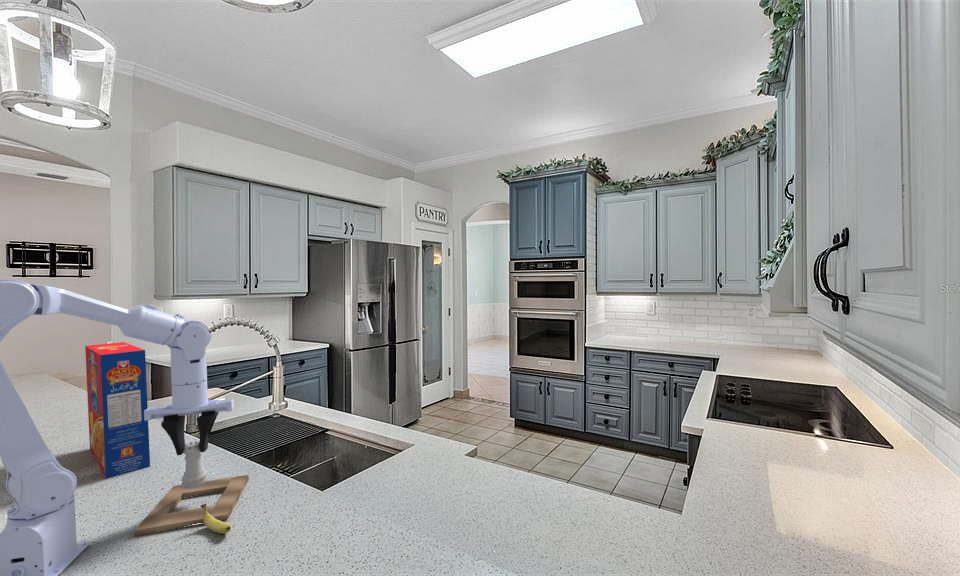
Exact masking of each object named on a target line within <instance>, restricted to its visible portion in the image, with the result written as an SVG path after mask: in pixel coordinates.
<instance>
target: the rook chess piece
mask: <svg viewBox="0 0 960 576" xmlns="http://www.w3.org/2000/svg"><path fill="white" fill-rule="evenodd" d="M182 452H183V454H185V457H184V460H185V469H184V472H183V476H182V477H181V482H182V483H181V485H182V486H183V487H184V488H186V489H192V488H196V487H199V486H201V485H203V484H204V483H206V481H209V480H208V479H209V475H208V474H209V473H208V471H207V469H205V467H204V466H203V463H202V455H203V454H202V452H200V441H195V442H193V441H190V442H189V443H185V446H184V450H183V451H182Z"/></svg>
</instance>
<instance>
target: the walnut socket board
mask: <svg viewBox="0 0 960 576" xmlns="http://www.w3.org/2000/svg"><path fill="white" fill-rule="evenodd" d="M249 480H250V479H249V474H246V475H238V476H231V477H224V478H219V479H218V478H217V479H212V480H207V481H206V483H204V484H203V485H201V486H199V487H196V488H192V489H186V488H184V487H183V486H182V484H177V485H173V486H172V487H171V488H170V489H169V491H167V493H166V494H165V495H164V496H163V497H162V499H161V500H160V501H159V502H158V503H157V504H156V505H155V506H154V507H153V508H152V510H151V511H150V512H149V513H148V515H146V516H145V518H143V520H142V521H141V522H140V523H139V524H138V526H137V527H136V528H135V529H134V536H135V537H138V536H137V535H139V536H143V534H144V535H149V534H155V533H156V534H157V533H161V531H162V532H166V531H172V529H173V530H177V529H176V528H179V529H181V528H180V527H184V526H188V525H192V524H197V523H204V509H203V508H202V507H198V508H197V507H196V508H191V509H186V510H180V511H174V510H175V509H176V507H177V506H178V505H179V504H180V502H181V501H182V500H183V499H185V498H184V497H187V498H192V497H191V496H194V497H197V495H200V496H205V495H204V494H206V495H213V494H217V493H222V495H221V496H220V498H219V500H218V501H217V503H216V504H215V505H209V506H206V508H207V511H208V513H209V514H210V515H212V516H213V517H214V518H215V519H217V520H224V521H228V520H229V519H230V516H231V515H230V514H232V512H233V511H234V508H235V507H236V505H237V503H238V501H239V499H240V497H241V496H242V493H243V491H244V489H245V487H246V485H247V483H248V482H249ZM181 499H182V500H181ZM227 519H228V520H227ZM184 528H185V527H184Z"/></svg>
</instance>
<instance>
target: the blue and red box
mask: <svg viewBox="0 0 960 576" xmlns="http://www.w3.org/2000/svg"><path fill="white" fill-rule="evenodd" d="M84 348H85V349H84V350H85V370H86V392H87V394H86V395H87V412H88V413H87V414H88V416H87V417H88V435H89V439H88V440H89V450H91V451H90V453H91V455H92V456H93V458H94V457H95V458H94V460H95V459H96V460H95V461H97V462H96V463H97V466H98V467H99V469H100V471H101V472H102V474H103V477H104V479H106V480H107V479H111V478H114V476H115V477H118V476H121V474H122V475H125V474H129V473H133V472H135V471H139V470H143V469H146V468H150V467H151V458H150V457H151V454H150V434H149V433H150V431H149V420H147V421H144V410H146V409H148V408H149V405H148V389H147V387H148V385H147V365H146V363H147V362H146V350H145V349H143V348H141V347H138V346H136V345H134V344H133V345H132V344H130V343H128V342H125V341H120V342H110V343H109V342H108V343H99V344H92V345H85V347H84ZM117 475H118V476H117ZM110 477H111V478H110Z"/></svg>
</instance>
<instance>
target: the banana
mask: <svg viewBox="0 0 960 576" xmlns="http://www.w3.org/2000/svg"><path fill="white" fill-rule="evenodd" d="M206 507H208V506H207V503H203V504H201V505H200V507H199V508H203V509H204V524H203V525H204V526H205V527H206V528H208V529H209V530H210V531H212V532H214V533H216V532H217V534H227V533H229V532H230V531H231V530H232V526H231V523H228V522H225V521H219V520H217V519H215V518H214V517H213V516H212V515H210V514H209V513H208V511H207V508H206Z"/></svg>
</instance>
